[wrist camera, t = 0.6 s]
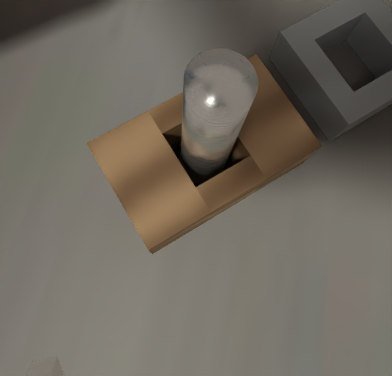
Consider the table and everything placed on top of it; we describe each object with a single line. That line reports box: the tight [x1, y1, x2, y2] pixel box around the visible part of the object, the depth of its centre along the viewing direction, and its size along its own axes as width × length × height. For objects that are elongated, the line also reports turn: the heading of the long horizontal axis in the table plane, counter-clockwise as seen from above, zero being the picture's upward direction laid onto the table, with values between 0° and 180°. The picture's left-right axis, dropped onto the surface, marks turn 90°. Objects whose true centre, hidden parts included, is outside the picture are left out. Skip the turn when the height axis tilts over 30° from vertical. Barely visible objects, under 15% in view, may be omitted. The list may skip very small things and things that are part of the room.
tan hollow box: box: [87, 54, 322, 254], centre depth 39 cm, size 12×20×6 cm, turn 122°
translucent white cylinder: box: [180, 48, 258, 184], centre depth 33 cm, size 5×5×18 cm
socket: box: [269, 0, 392, 142], centre depth 43 cm, size 13×13×5 cm
